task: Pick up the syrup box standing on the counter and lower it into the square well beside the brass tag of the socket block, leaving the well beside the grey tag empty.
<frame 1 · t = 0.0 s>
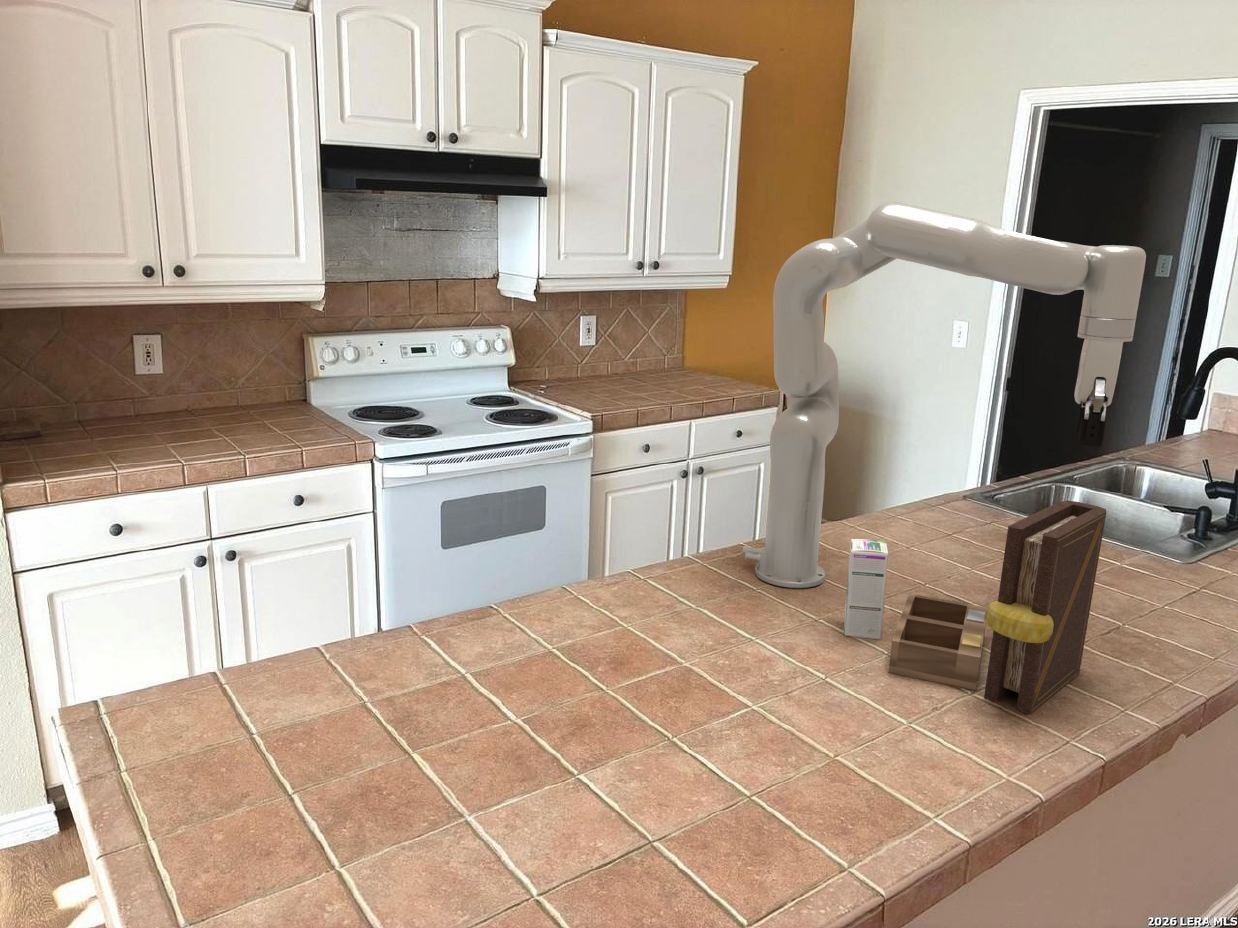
hand: (1088, 438, 148), 31 cm above the counter, fingers open, 9 cm apart
book: (1030, 688, 135), on the counter
syrup box: (861, 631, 151), on the counter
socket block: (938, 653, 144), on the counter
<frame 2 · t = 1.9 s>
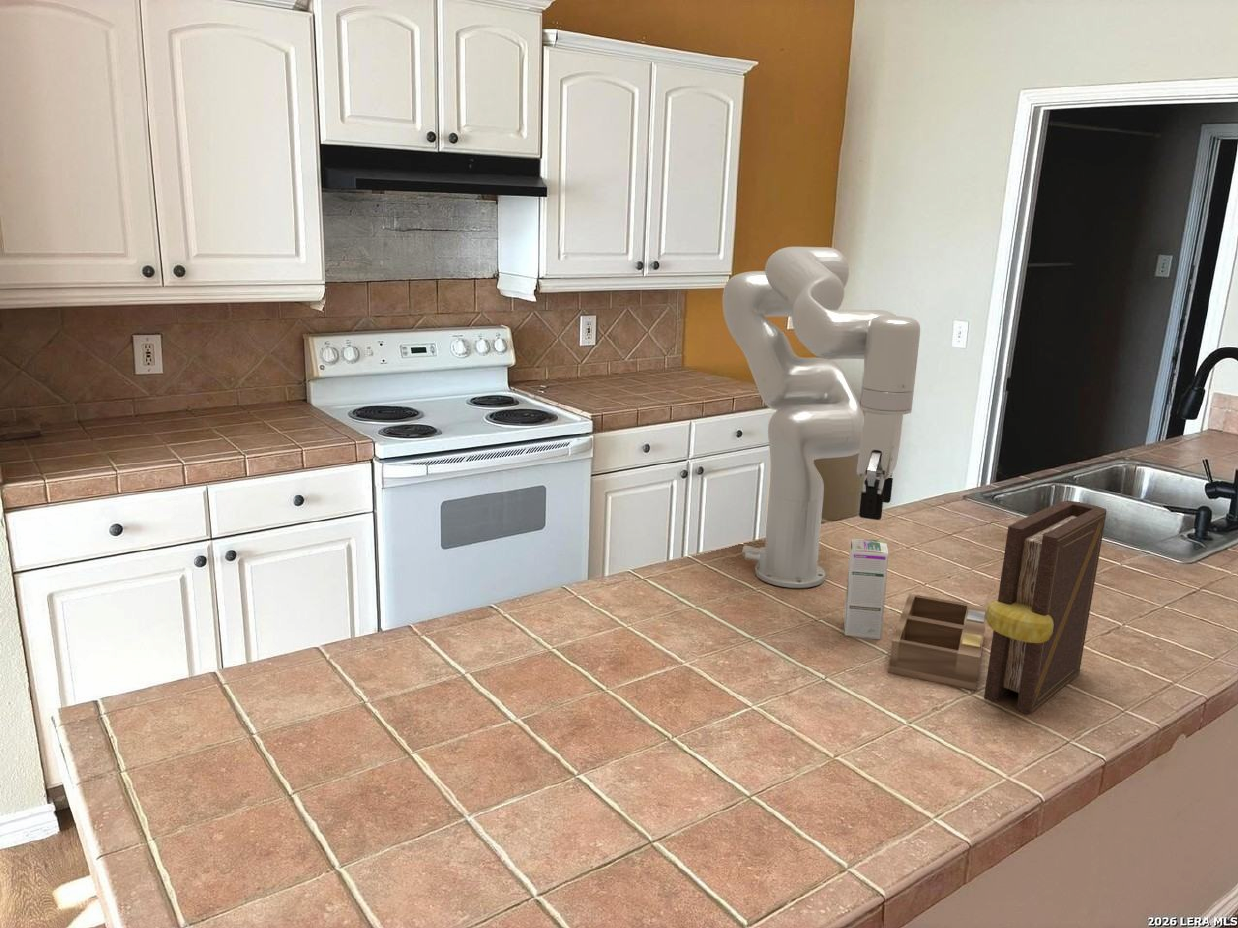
hand: (875, 509, 146), 20 cm above the counter, fingers open, 9 cm apart
nothing on the counter moved.
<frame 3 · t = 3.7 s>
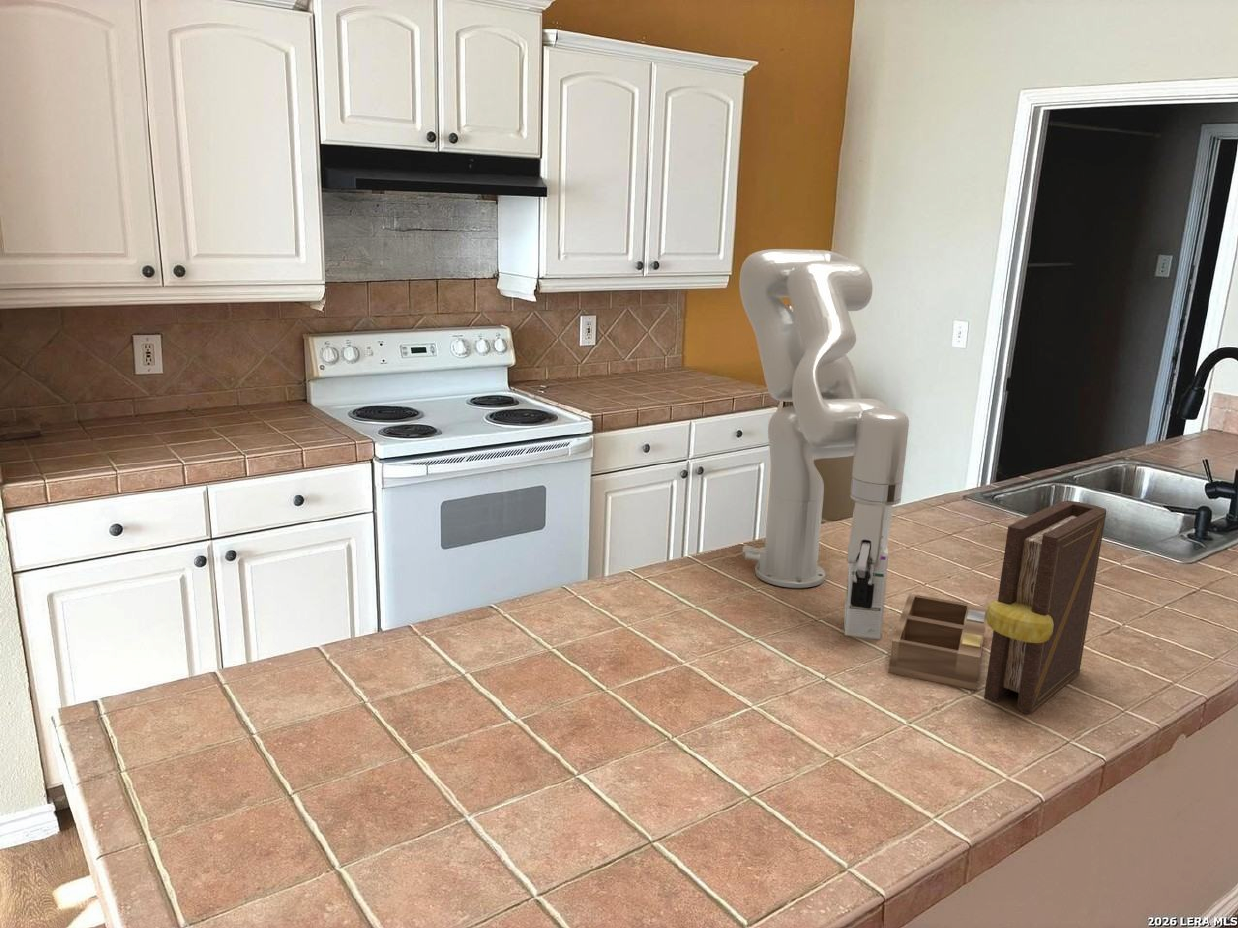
hand: (865, 597, 150), 6 cm above the counter, fingers closed on syrup box, 6 cm apart
syrup box: (861, 631, 151), on the counter, touching gripper
everything else where it was.
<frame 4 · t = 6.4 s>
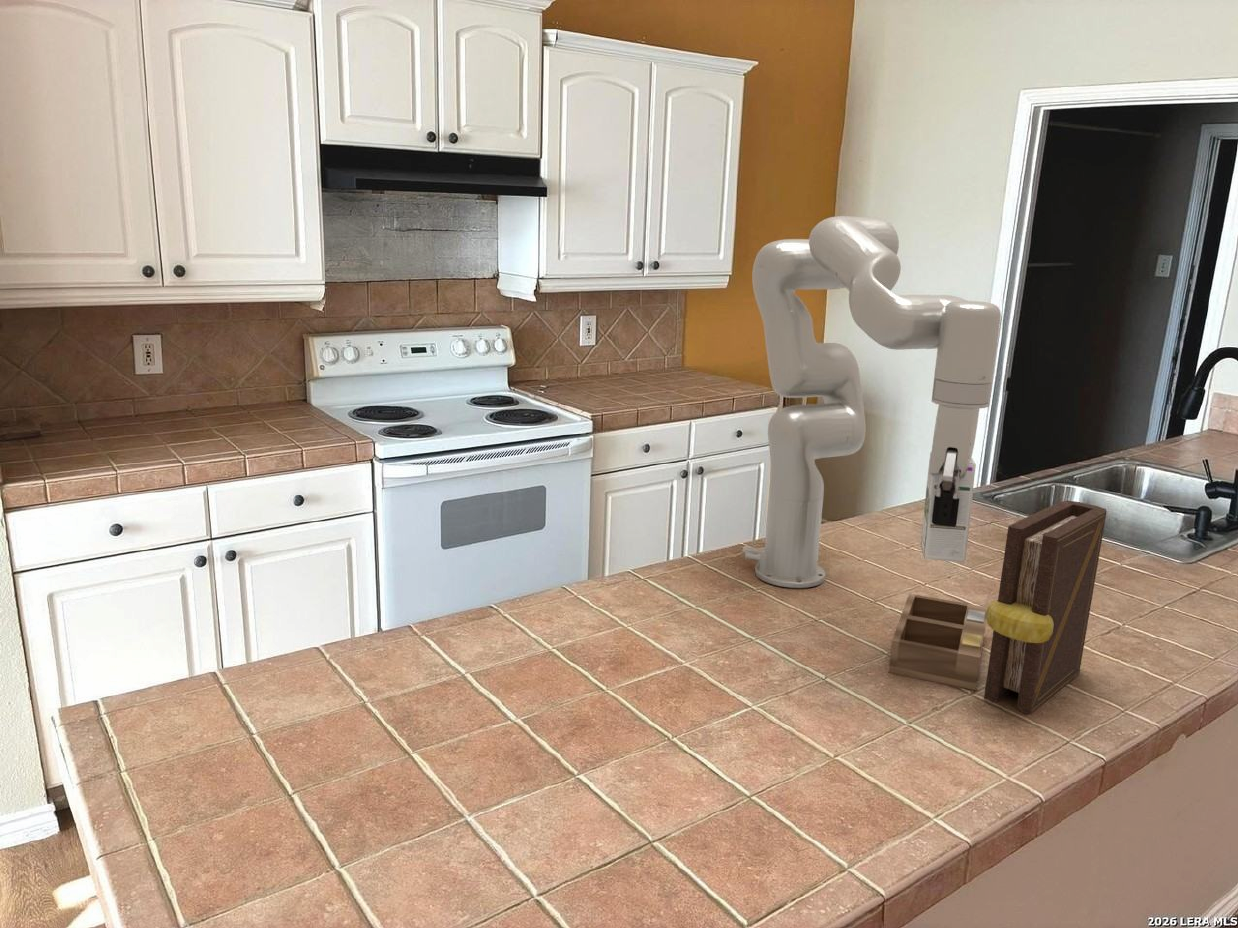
hand: (946, 516, 134), 23 cm above the counter, fingers closed on syrup box, 6 cm apart
syrup box: (941, 555, 136), point 17 cm above the counter, touching gripper
everything else where it was.
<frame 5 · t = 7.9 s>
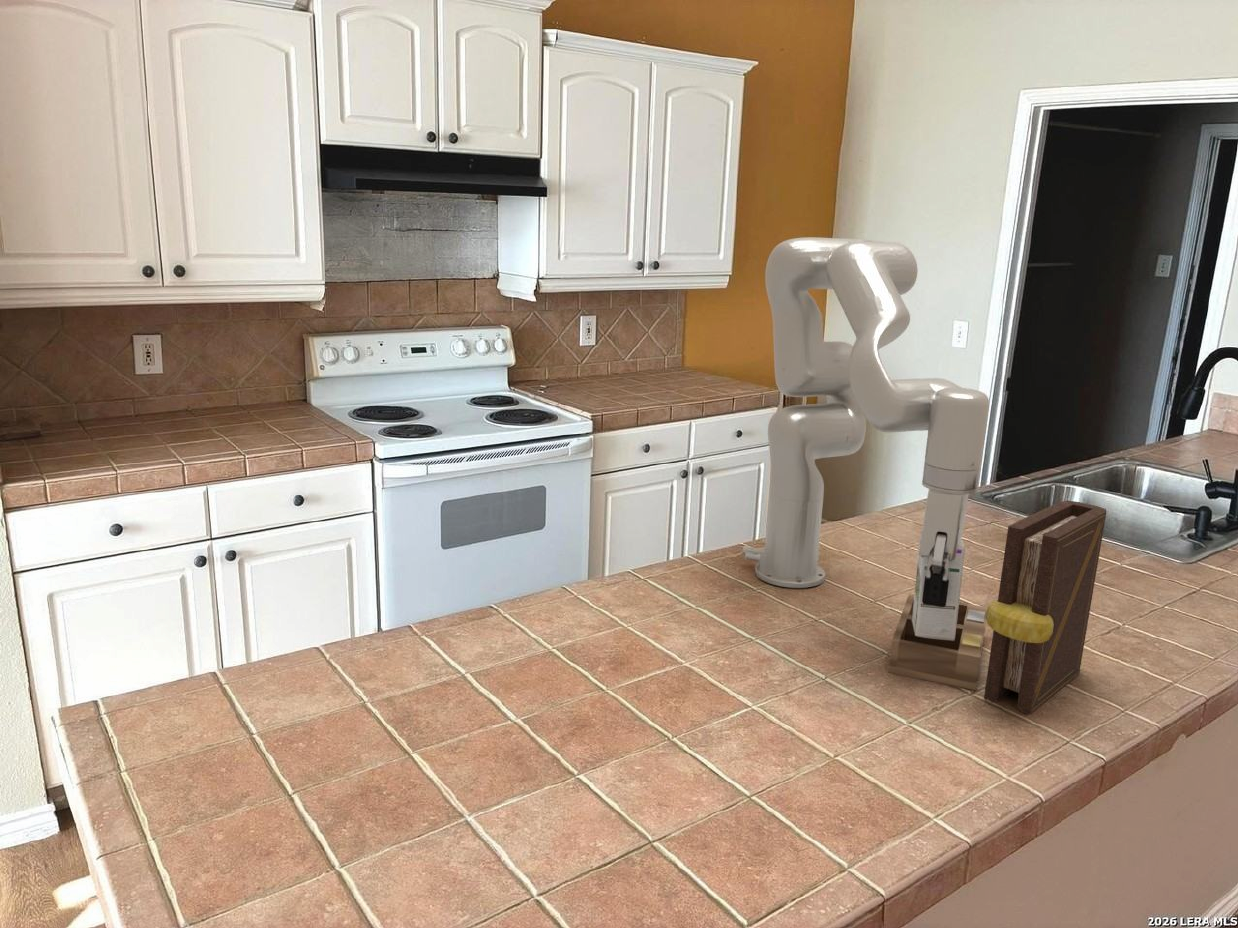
hand: (936, 594, 138), 11 cm above the counter, fingers closed on syrup box, 6 cm apart
syrup box: (931, 632, 139), point 5 cm above the counter, touching gripper
everything else where it was.
when the fingers open (8 cm above the counter, at t = 8.9 s): syrup box drops 1 cm, resting on socket block.
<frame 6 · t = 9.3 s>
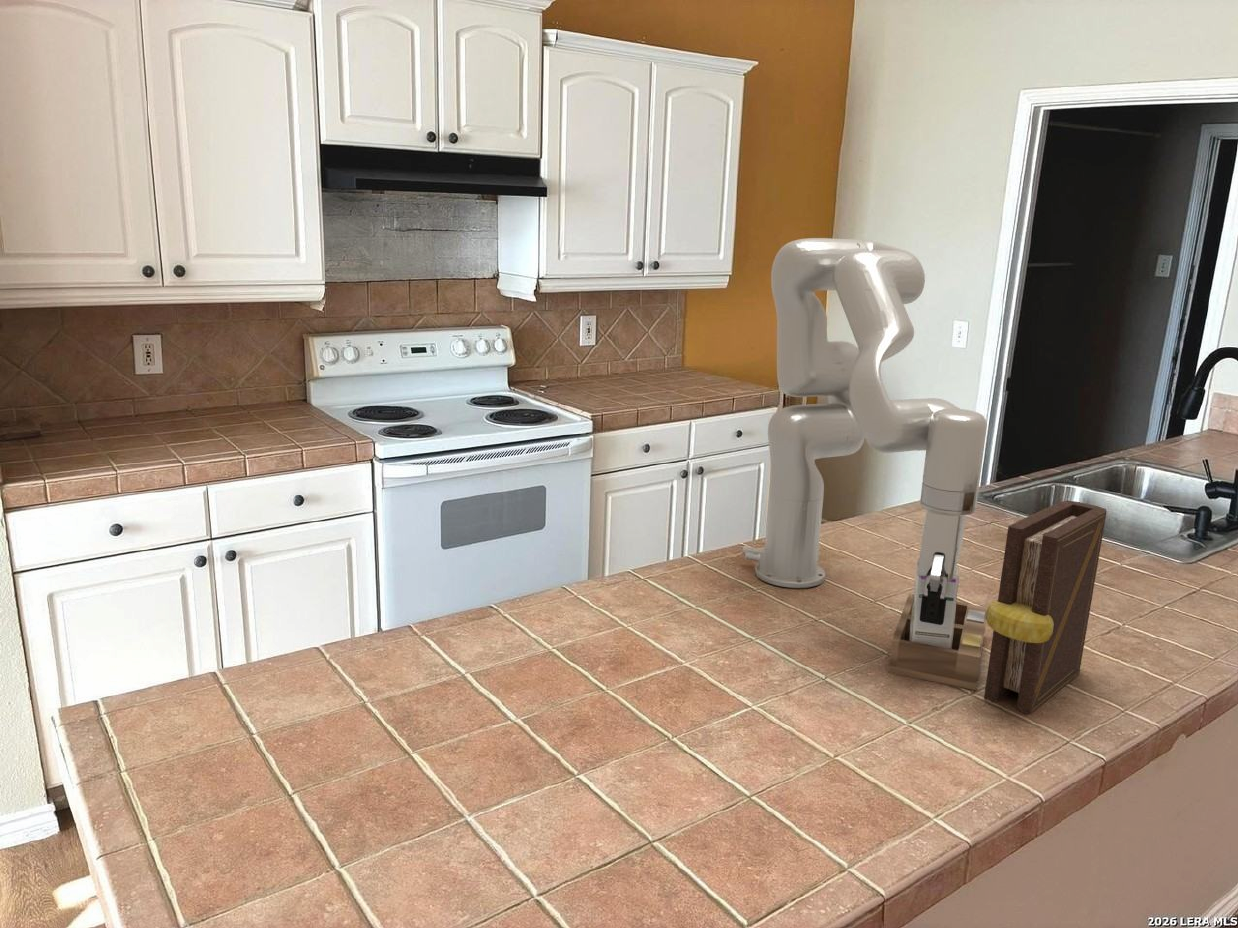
hand: (934, 610, 138), 9 cm above the counter, fingers open, 9 cm apart
syrup box: (927, 659, 140), point 1 cm above the counter, touching socket block
everything else where it was.
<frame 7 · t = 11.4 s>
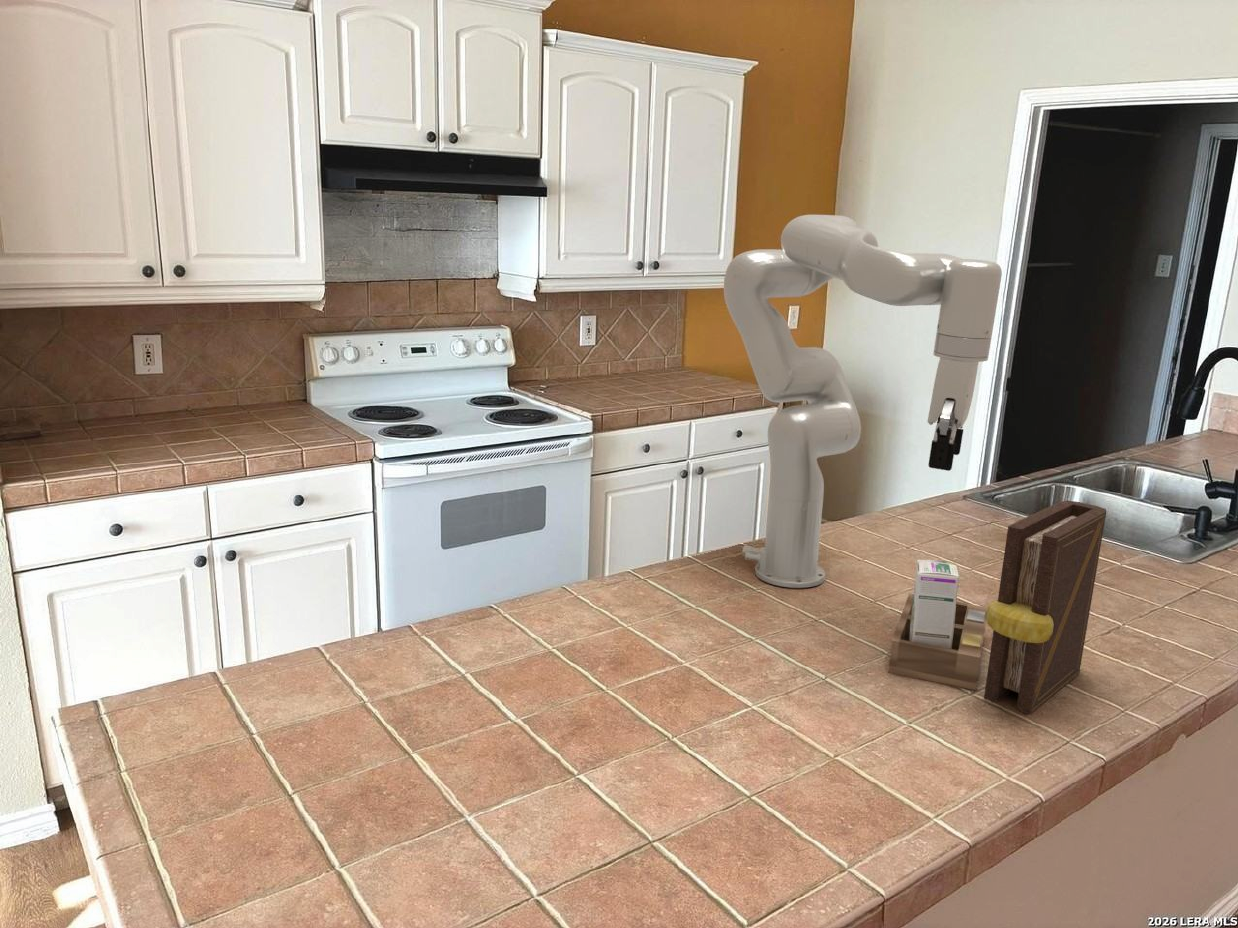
hand: (944, 460, 142), 29 cm above the counter, fingers open, 9 cm apart
nothing on the counter moved.
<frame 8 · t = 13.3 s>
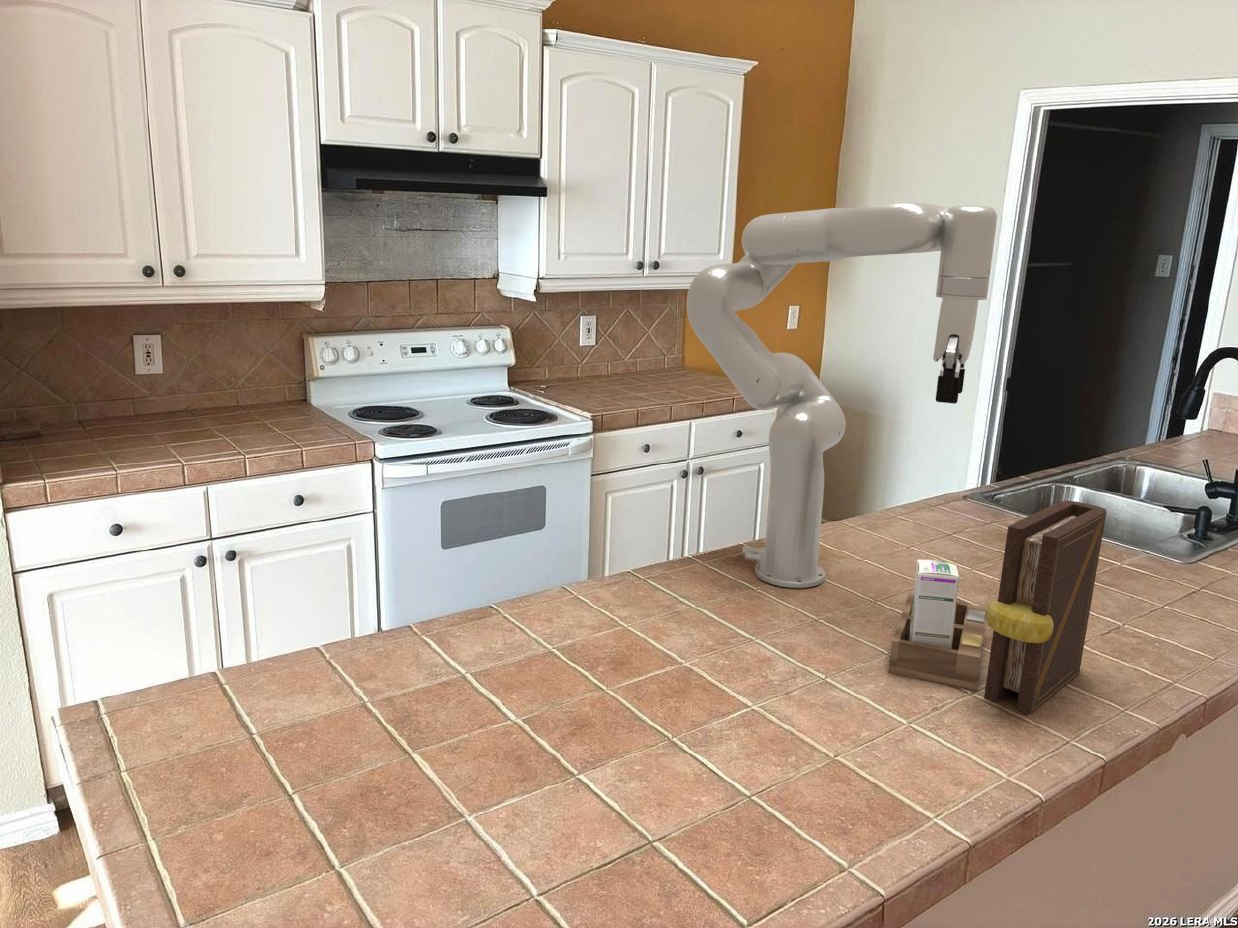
hand: (949, 397, 151), 36 cm above the counter, fingers open, 9 cm apart
nothing on the counter moved.
at the end: syrup box inside the target area (0.2 cm from its centre), point 0.8 cm above the counter; syrup box tilted 0°; the gripper is holding nothing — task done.
